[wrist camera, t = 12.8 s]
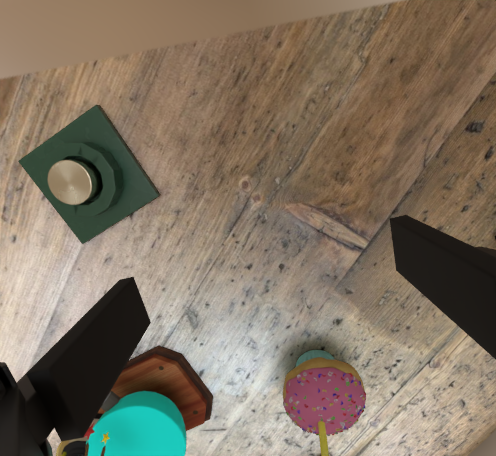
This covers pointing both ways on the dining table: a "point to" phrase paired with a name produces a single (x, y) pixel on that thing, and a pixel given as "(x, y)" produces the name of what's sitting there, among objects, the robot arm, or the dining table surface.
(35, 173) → the block
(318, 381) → the cupcake
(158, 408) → the contraption on wooden base
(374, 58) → the dining table surface
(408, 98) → the dining table surface
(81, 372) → the robot arm
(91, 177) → the button
